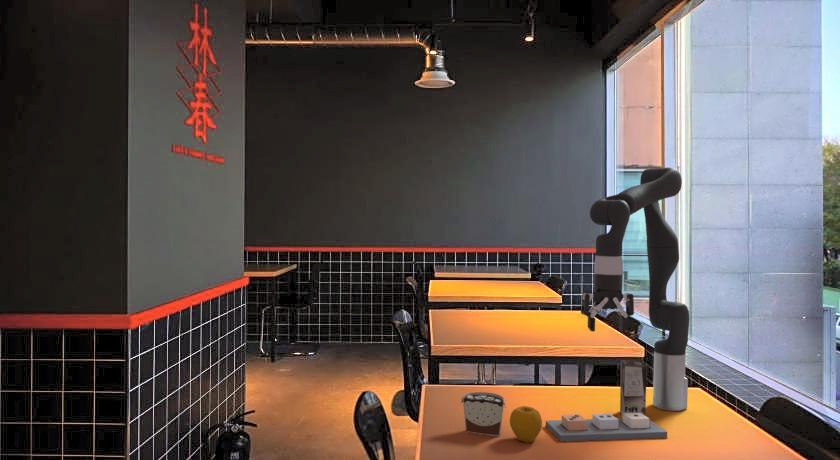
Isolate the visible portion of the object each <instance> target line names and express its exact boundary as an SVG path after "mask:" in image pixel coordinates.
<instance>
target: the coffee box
mask: <svg viewBox="0 0 840 460" xmlns="http://www.w3.org/2000/svg"><path fill="white" fill-rule="evenodd" d="M647 367H648V366H646V364H645V363H644V362H643V360H636V359H635V360H633V359H632V360H631V359H630V360H629V359H628V360H627V359H626V360H625V359H620V384H619V385H620V387H619V388H620V390H619V394H620V397H619V398H620V399H619V400H620V401H619V406H620V407H619V412H620V414H621V417H622V418H623V413H642V414H643V415H645V416H646V408H647V407H646V404H647V403H646V402H647V401H646V400H647V399H646V398H647V371H648V370H647Z"/></svg>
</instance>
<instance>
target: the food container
mask: <svg viewBox="0 0 840 460" xmlns="http://www.w3.org/2000/svg"><path fill="white" fill-rule="evenodd" d="M460 403H461V404H462V405H463V412H464V413H463V414H464V415H463V416H464V425H465V432H466V431H469V432H473V433H472V434H476V433H480V434H479V435H483V434H486V435H485V436H492V437H498V438H499V437H501V431H502V421H503V413H504V412H503V411H504V409H505V408H507V404H506V400H505V398H504V397H503V396H502V395H500V394H499V393H498V394H497V393H495V392H486V391H482V392H481V391H474V392H469V393H468V392H467V393H465V394H463V395H462V397H461V401H460Z"/></svg>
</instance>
